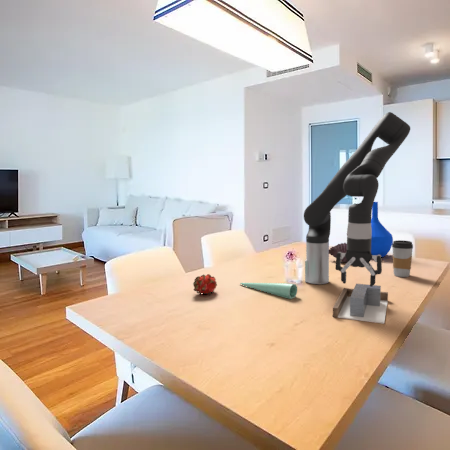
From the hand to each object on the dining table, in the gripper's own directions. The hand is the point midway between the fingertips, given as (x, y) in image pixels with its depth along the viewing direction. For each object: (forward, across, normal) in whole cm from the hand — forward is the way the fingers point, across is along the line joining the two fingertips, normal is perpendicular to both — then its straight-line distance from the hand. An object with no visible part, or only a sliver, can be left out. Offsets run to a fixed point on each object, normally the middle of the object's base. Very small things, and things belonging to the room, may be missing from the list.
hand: (357, 284), depth 121 cm
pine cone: (+9, +16, -68) cm, 70 cm away
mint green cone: (+9, +36, -7) cm, 37 cm away
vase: (+8, +3, -88) cm, 88 cm away
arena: (+8, -1, 0) cm, 8 cm away
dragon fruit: (+9, +56, +5) cm, 57 cm away
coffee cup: (+8, -12, -50) cm, 52 cm away
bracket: (+8, -3, 0) cm, 8 cm away
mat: (+8, -2, 0) cm, 9 cm away
